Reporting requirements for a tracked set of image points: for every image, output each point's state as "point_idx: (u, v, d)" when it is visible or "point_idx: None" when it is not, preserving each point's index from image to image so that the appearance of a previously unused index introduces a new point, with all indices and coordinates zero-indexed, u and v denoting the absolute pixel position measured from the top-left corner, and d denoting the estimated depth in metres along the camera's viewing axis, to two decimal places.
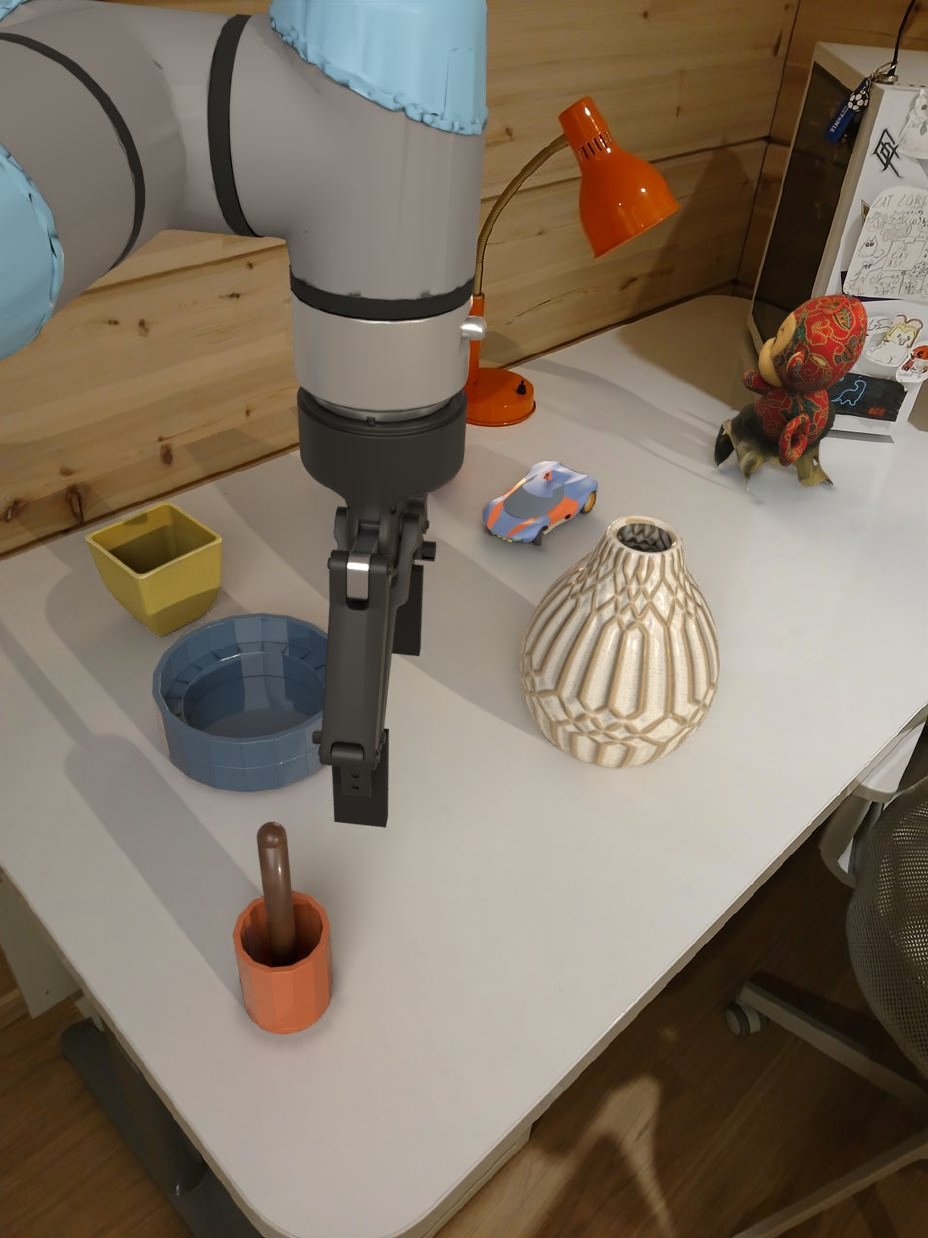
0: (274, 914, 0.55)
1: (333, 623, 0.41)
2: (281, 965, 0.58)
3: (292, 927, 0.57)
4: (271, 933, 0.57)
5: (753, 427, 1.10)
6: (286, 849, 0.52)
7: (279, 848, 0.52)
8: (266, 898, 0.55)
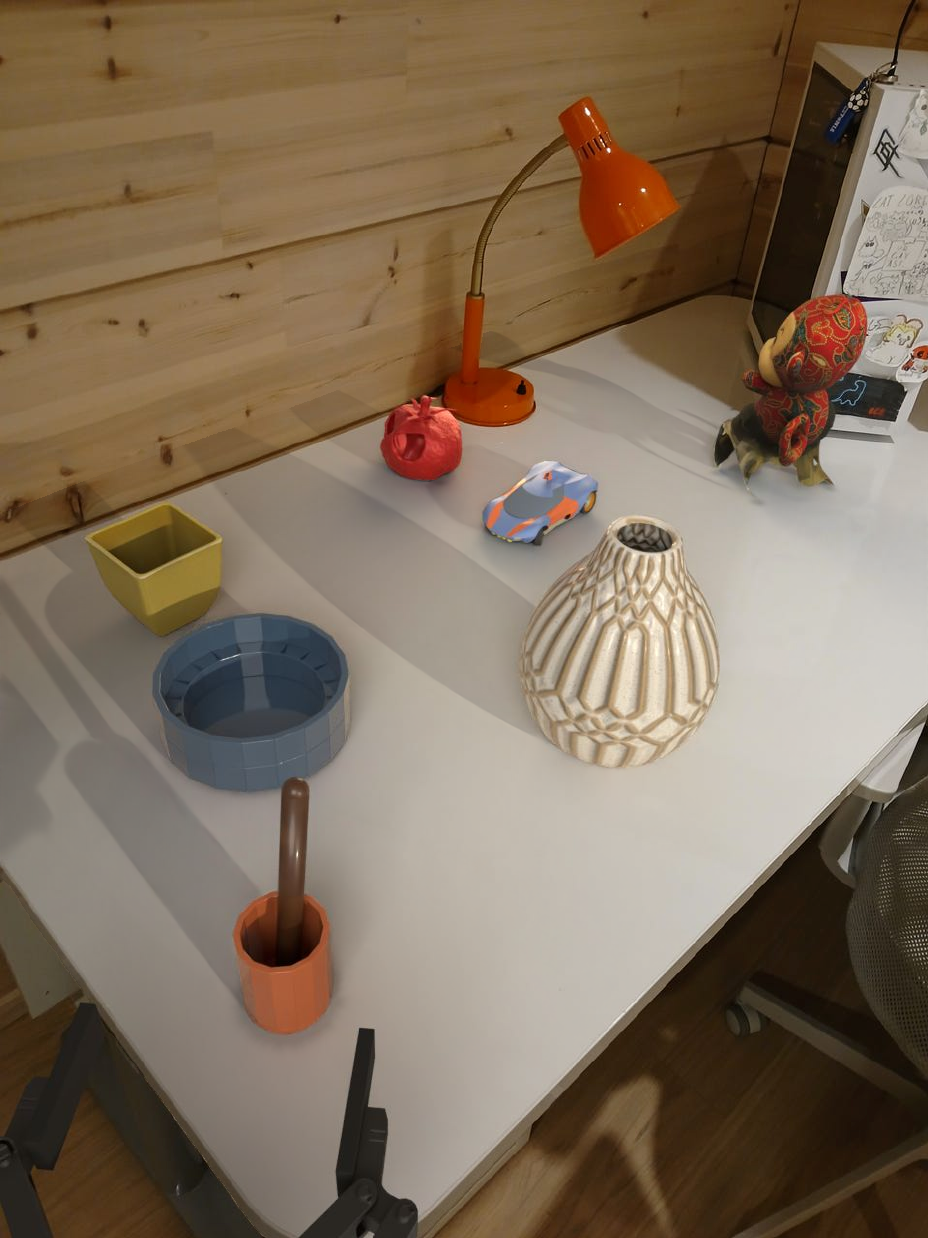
0: (287, 882, 0.57)
1: None
2: (286, 951, 0.59)
3: (302, 904, 0.58)
4: (281, 908, 0.58)
5: (753, 427, 1.10)
6: (307, 805, 0.55)
7: (302, 801, 0.55)
8: (282, 863, 0.57)
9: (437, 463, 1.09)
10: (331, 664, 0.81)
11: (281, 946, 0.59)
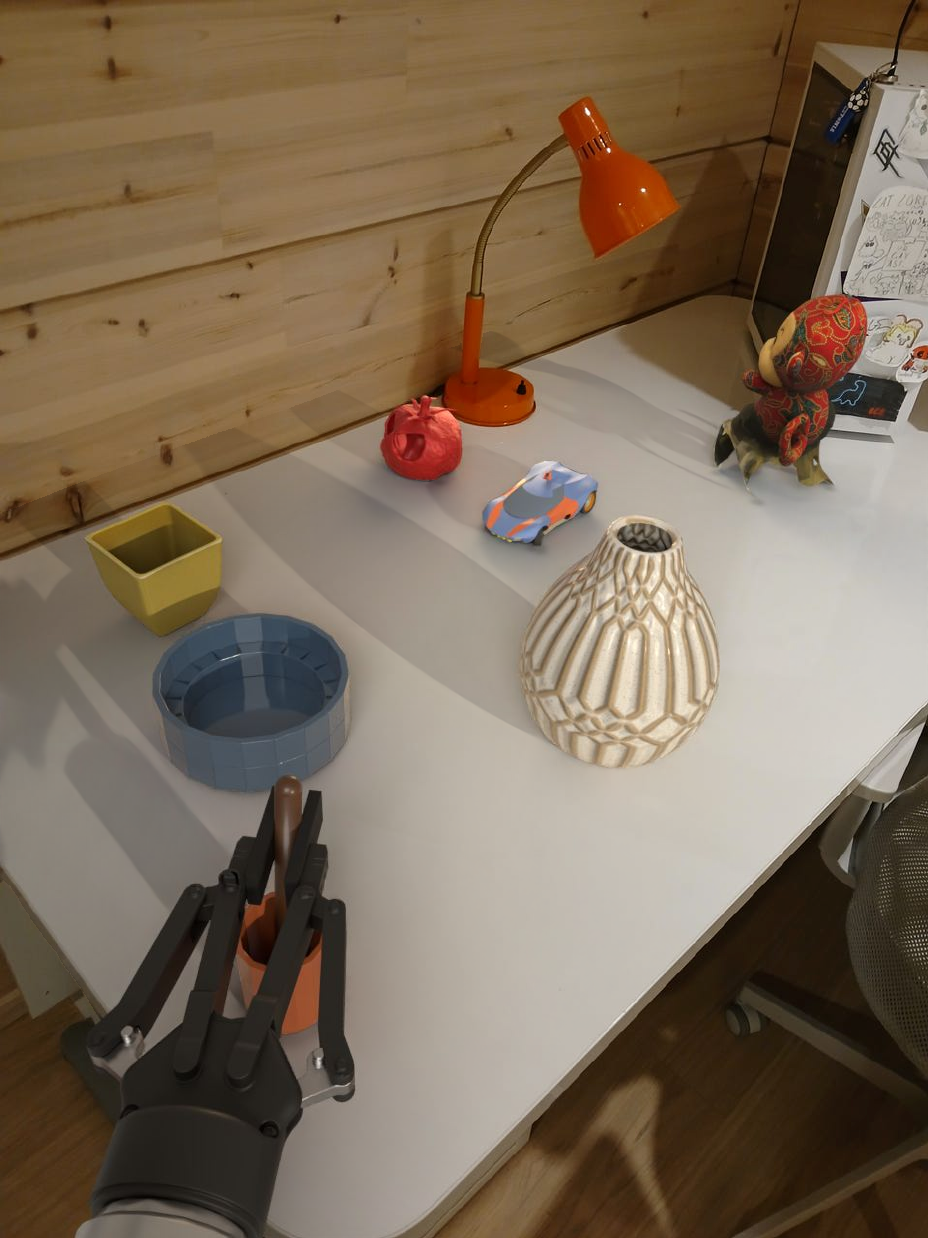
0: (283, 881, 0.57)
1: (127, 991, 0.48)
2: None
3: None
4: (278, 907, 0.58)
5: (753, 427, 1.10)
6: (301, 803, 0.55)
7: (295, 799, 0.55)
8: (277, 862, 0.57)
9: (437, 463, 1.09)
10: (331, 664, 0.81)
11: None
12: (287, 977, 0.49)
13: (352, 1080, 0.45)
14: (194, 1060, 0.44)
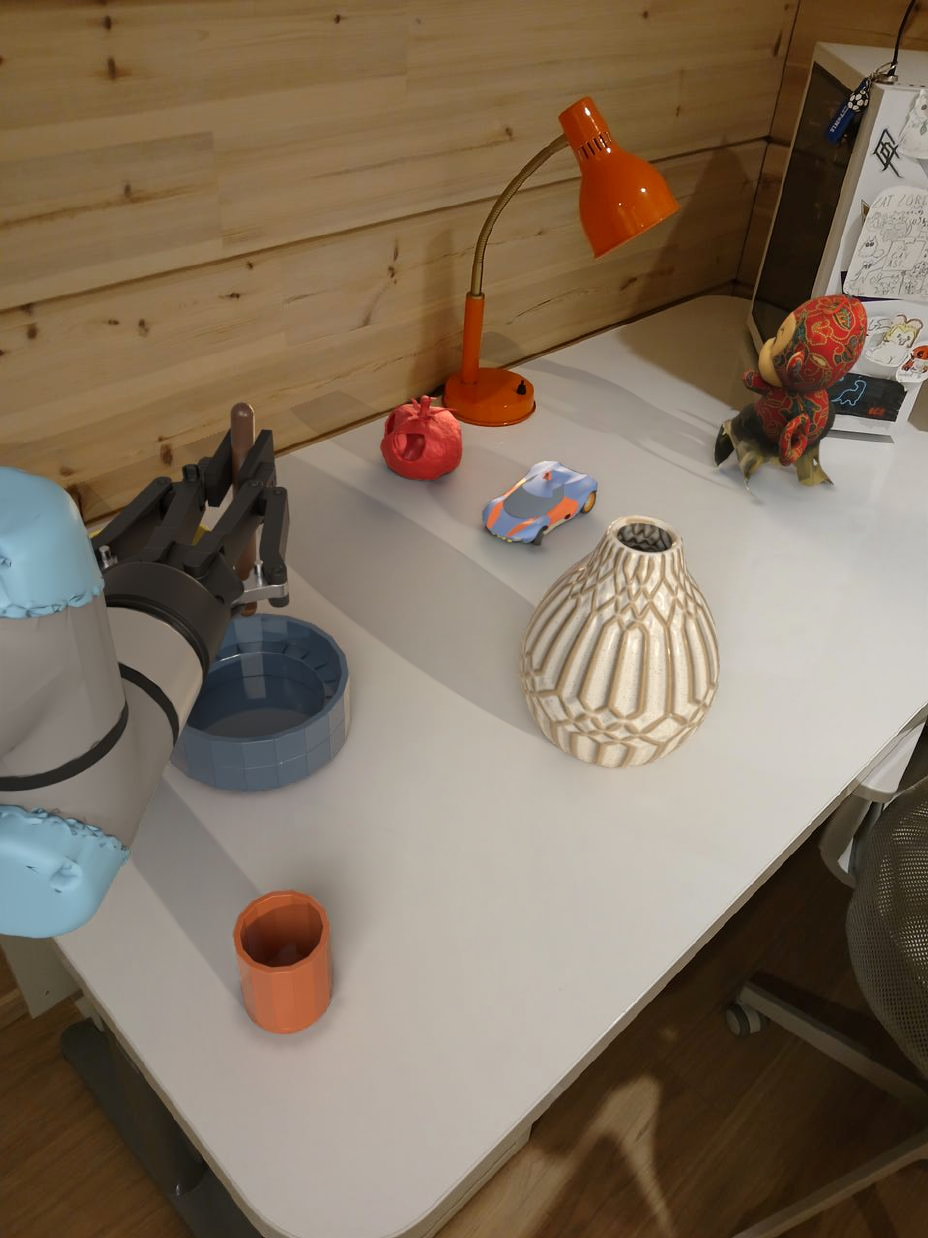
0: None
1: (105, 530, 0.59)
2: (242, 571, 0.70)
3: None
4: None
5: (753, 427, 1.10)
6: (253, 427, 0.66)
7: (248, 421, 0.66)
8: (234, 483, 0.67)
9: (437, 463, 1.09)
10: (331, 664, 0.81)
11: (238, 567, 0.70)
12: (236, 525, 0.59)
13: (285, 583, 0.56)
14: (157, 556, 0.55)
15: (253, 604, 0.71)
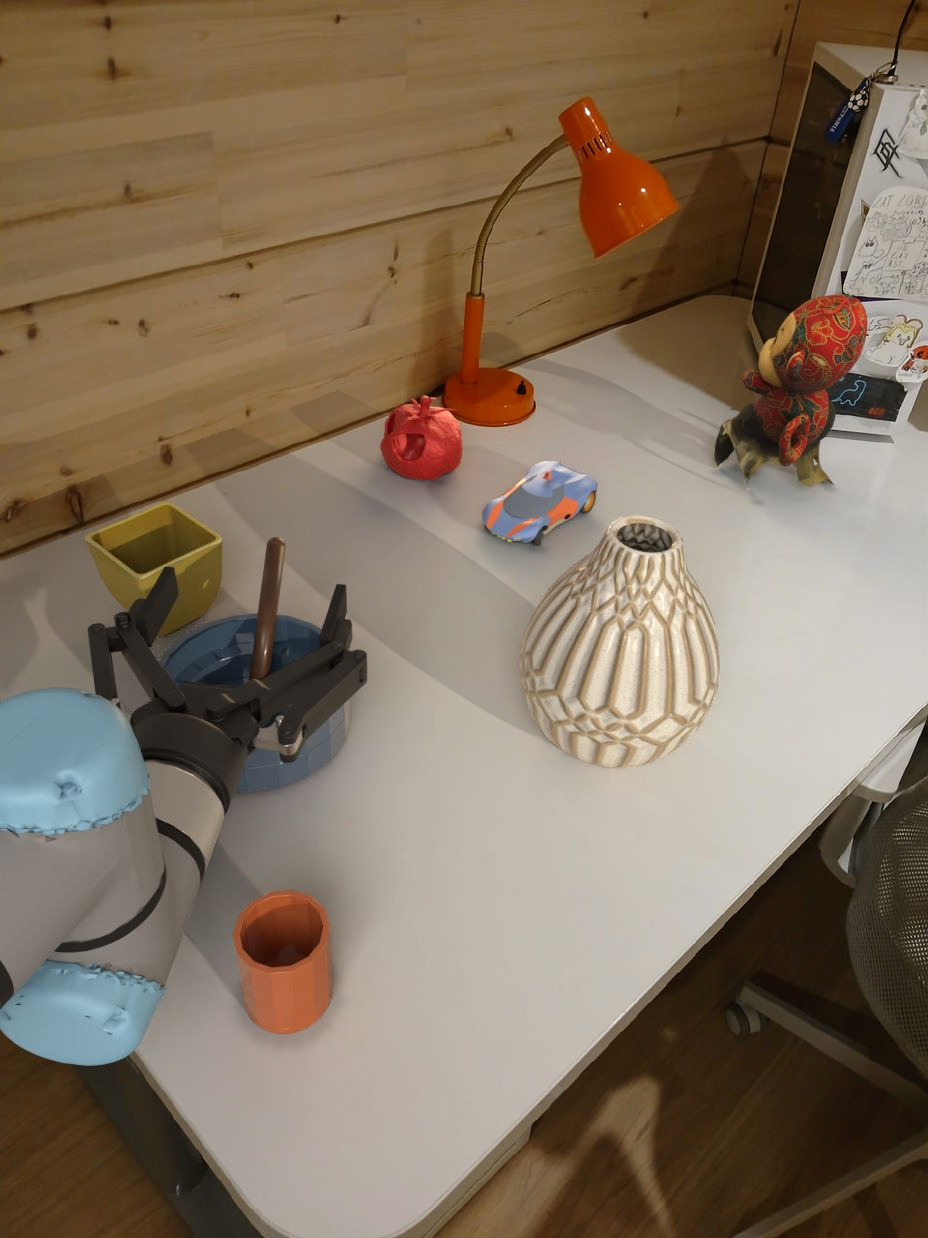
0: (261, 612, 0.80)
1: (95, 687, 0.64)
2: (254, 675, 0.79)
3: (270, 637, 0.80)
4: (255, 637, 0.80)
5: (753, 427, 1.10)
6: (282, 555, 0.82)
7: (278, 548, 0.82)
8: (260, 598, 0.81)
9: (437, 463, 1.09)
10: None
11: (251, 672, 0.79)
12: (285, 682, 0.66)
13: (290, 745, 0.62)
14: (182, 700, 0.62)
15: None
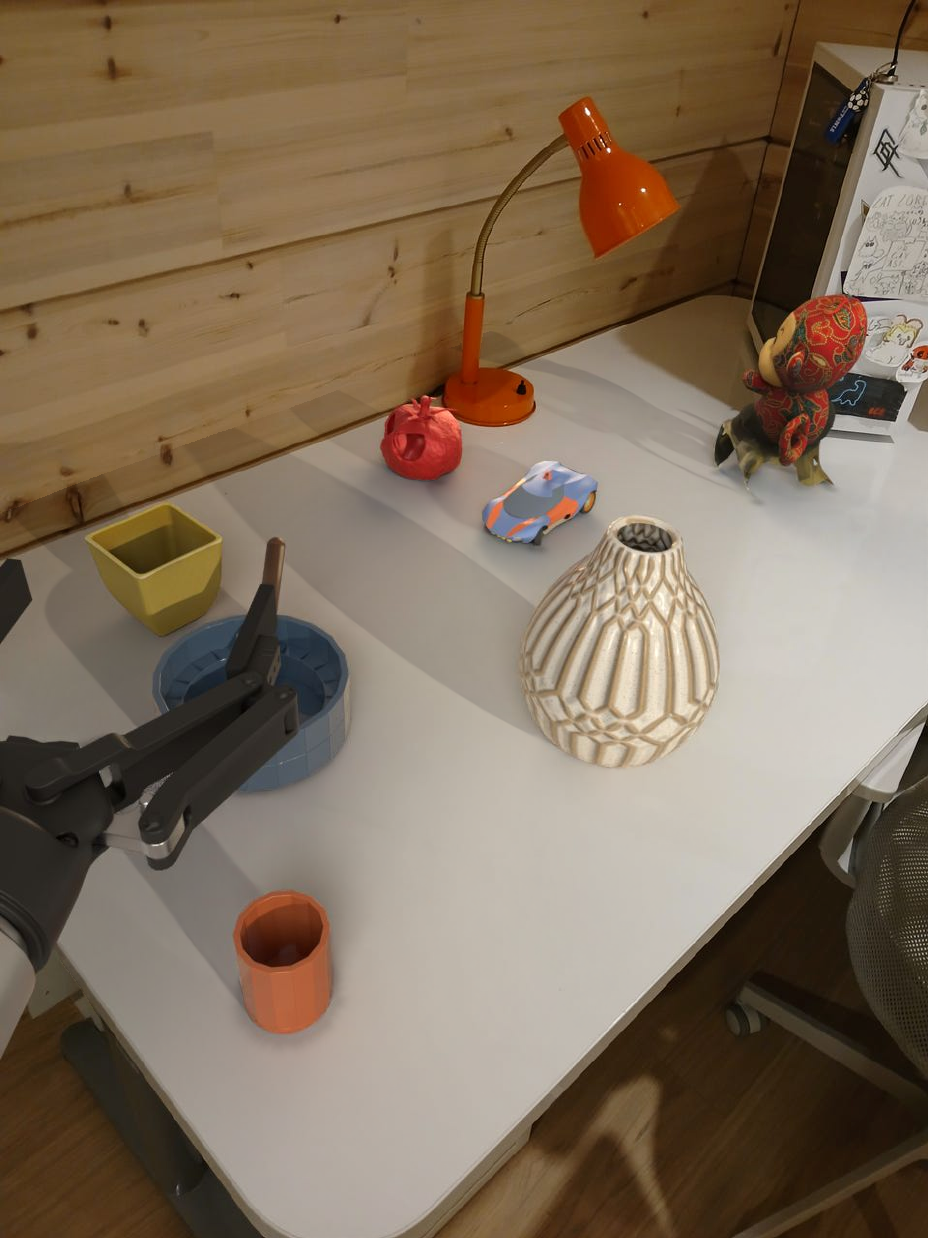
0: None
1: None
2: None
3: None
4: None
5: (753, 427, 1.10)
6: (282, 555, 0.82)
7: (278, 548, 0.82)
8: None
9: (437, 463, 1.09)
10: (331, 664, 0.81)
11: None
12: (163, 738, 0.42)
13: (159, 845, 0.38)
14: None
15: None
